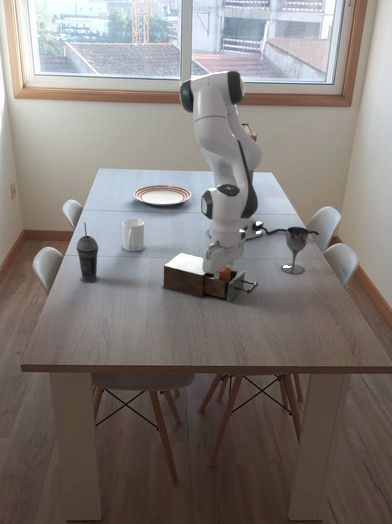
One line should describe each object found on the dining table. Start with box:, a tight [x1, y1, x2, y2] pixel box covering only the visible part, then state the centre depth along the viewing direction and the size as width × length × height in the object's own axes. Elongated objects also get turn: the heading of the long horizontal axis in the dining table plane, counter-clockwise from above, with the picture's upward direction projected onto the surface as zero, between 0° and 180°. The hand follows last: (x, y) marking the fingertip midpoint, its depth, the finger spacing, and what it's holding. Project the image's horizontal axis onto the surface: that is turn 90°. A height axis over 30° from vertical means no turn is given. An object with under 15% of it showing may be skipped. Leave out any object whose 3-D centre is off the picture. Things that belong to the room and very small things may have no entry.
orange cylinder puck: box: [219, 266, 232, 284], centre depth 193 cm, size 5×5×4 cm
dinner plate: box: [133, 184, 192, 207], centre depth 276 cm, size 28×27×3 cm
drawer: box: [203, 269, 259, 302], centre depth 193 cm, size 19×11×6 cm, turn 64°
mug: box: [121, 218, 145, 253], centre depth 222 cm, size 12×8×10 cm
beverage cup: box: [76, 222, 99, 283], centre depth 196 cm, size 7×7×20 cm
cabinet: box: [163, 252, 208, 298], centre depth 198 cm, size 15×13×8 cm
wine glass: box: [282, 226, 310, 274], centre depth 211 cm, size 8×8×15 cm
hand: (222, 276), depth 193 cm, fingers closed on orange cylinder puck, 5 cm apart
